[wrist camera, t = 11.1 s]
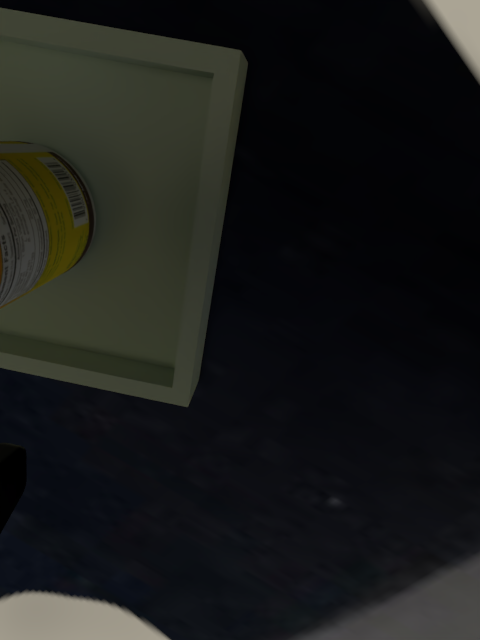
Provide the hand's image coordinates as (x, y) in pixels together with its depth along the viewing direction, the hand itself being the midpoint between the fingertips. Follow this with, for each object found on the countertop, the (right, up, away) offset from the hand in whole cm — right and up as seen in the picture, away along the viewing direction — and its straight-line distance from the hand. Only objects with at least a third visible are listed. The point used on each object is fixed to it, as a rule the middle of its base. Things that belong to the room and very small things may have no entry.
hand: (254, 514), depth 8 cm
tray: (-9, +9, +12) cm, 17 cm away
